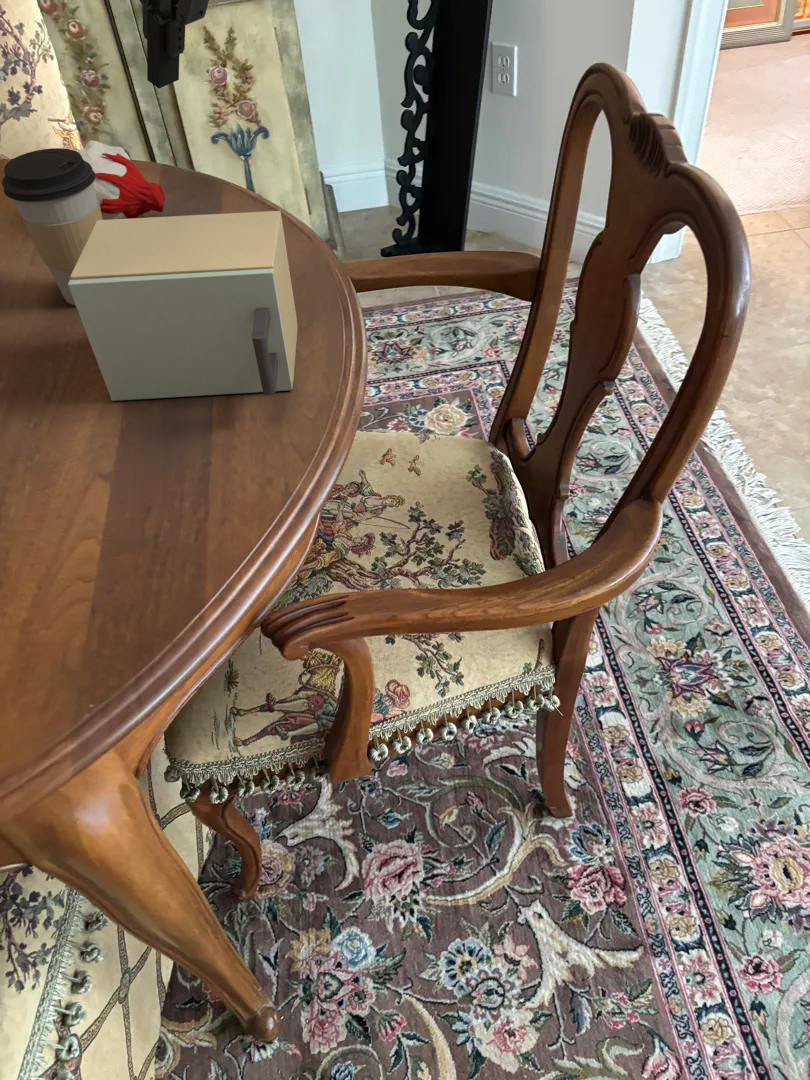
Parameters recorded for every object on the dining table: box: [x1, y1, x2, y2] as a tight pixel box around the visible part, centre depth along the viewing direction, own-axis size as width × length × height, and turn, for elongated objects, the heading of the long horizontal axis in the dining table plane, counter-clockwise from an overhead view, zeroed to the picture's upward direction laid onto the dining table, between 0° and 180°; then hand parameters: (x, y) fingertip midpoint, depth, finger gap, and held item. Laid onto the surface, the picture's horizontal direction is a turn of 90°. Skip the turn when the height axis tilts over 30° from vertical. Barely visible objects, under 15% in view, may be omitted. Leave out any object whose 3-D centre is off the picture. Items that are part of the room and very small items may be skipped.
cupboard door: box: [68, 269, 294, 402], centre depth 72 cm, size 6×18×13 cm, turn 93°
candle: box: [73, 140, 166, 220], centre depth 102 cm, size 9×11×15 cm
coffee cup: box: [1, 147, 103, 307], centre depth 87 cm, size 9×9×15 cm
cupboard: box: [70, 210, 299, 386], centre depth 78 cm, size 11×18×13 cm, turn 93°
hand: (163, 79), depth 76 cm, fingers closed
